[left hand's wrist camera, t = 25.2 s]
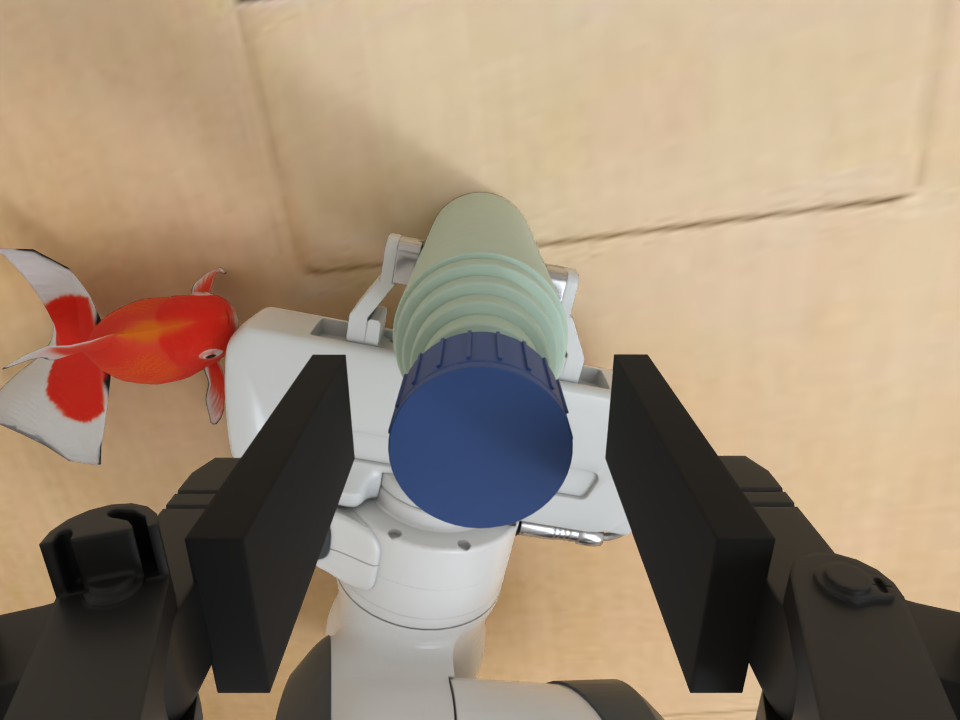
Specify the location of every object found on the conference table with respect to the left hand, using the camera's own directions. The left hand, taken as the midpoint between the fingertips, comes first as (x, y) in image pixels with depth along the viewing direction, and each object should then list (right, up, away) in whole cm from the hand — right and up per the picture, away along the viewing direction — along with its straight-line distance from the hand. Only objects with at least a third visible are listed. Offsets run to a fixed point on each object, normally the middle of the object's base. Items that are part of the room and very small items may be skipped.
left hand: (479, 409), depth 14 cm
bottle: (0, +7, +18) cm, 20 cm away
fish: (-18, +3, +20) cm, 27 cm away
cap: (0, -1, -2) cm, 2 cm away
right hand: (0, +6, +12) cm, 13 cm away
